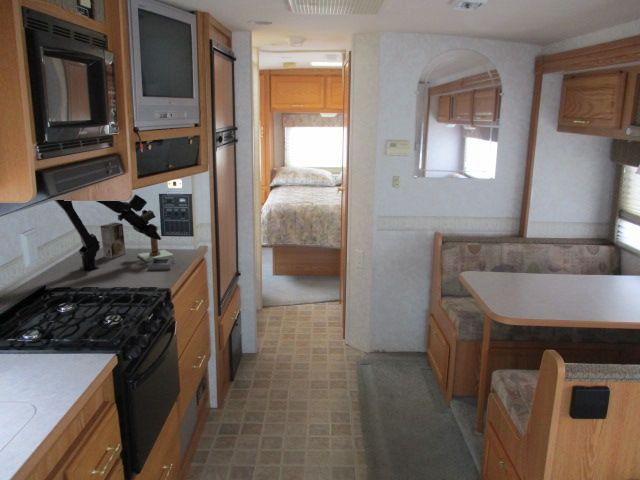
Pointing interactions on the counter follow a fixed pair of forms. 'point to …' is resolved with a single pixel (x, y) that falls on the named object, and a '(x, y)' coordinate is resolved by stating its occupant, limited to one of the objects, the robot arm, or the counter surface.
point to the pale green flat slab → (162, 255)
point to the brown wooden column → (154, 247)
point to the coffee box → (113, 240)
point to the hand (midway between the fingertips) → (157, 237)
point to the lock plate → (161, 264)
